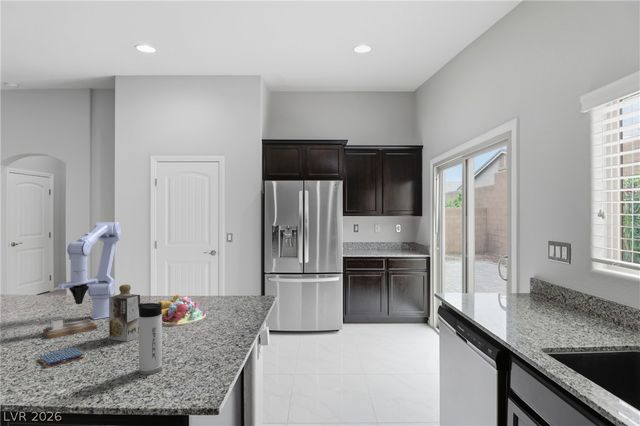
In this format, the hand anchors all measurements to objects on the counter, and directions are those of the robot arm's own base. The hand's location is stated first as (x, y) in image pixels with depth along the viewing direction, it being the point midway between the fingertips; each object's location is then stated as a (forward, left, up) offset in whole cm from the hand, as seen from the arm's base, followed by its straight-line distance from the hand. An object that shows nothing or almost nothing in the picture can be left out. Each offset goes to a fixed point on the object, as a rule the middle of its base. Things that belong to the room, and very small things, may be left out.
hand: (78, 303), depth 145 cm
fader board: (+3, 0, -10) cm, 11 cm away
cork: (-26, -26, -11) cm, 38 cm away
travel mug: (-4, +61, -11) cm, 62 cm away
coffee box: (-9, +25, -11) cm, 29 cm away
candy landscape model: (-36, +13, -11) cm, 40 cm away
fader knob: (+7, 0, -9) cm, 11 cm away
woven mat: (+12, +31, -11) cm, 35 cm away
